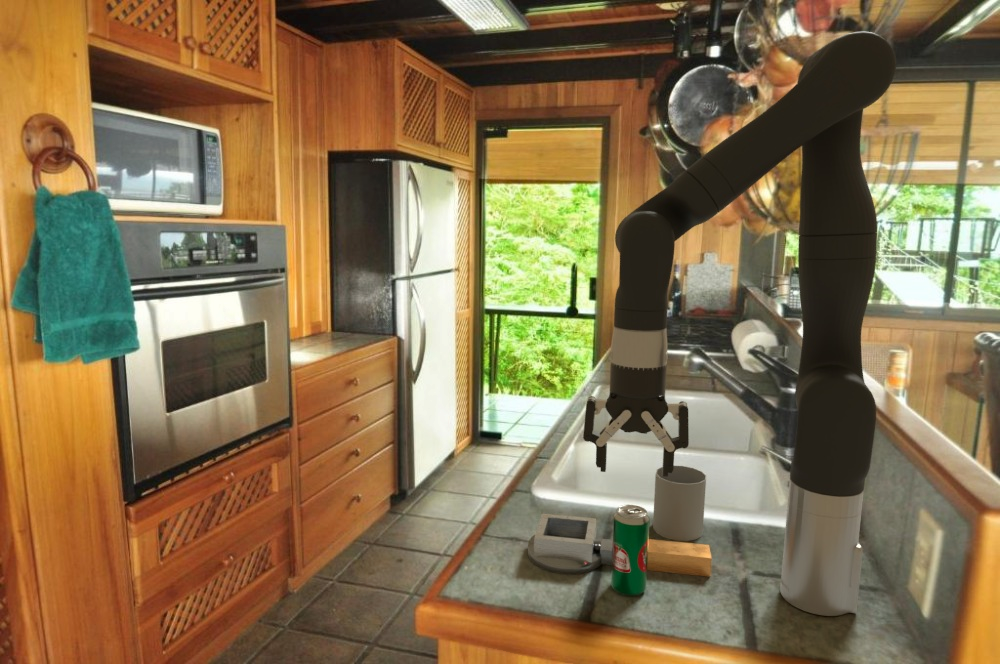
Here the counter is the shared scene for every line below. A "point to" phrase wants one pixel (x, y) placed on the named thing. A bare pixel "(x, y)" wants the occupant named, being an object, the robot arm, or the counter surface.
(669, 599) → the counter surface
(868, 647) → the counter surface
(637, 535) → the soda can
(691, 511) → the cup
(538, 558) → the ratchet
